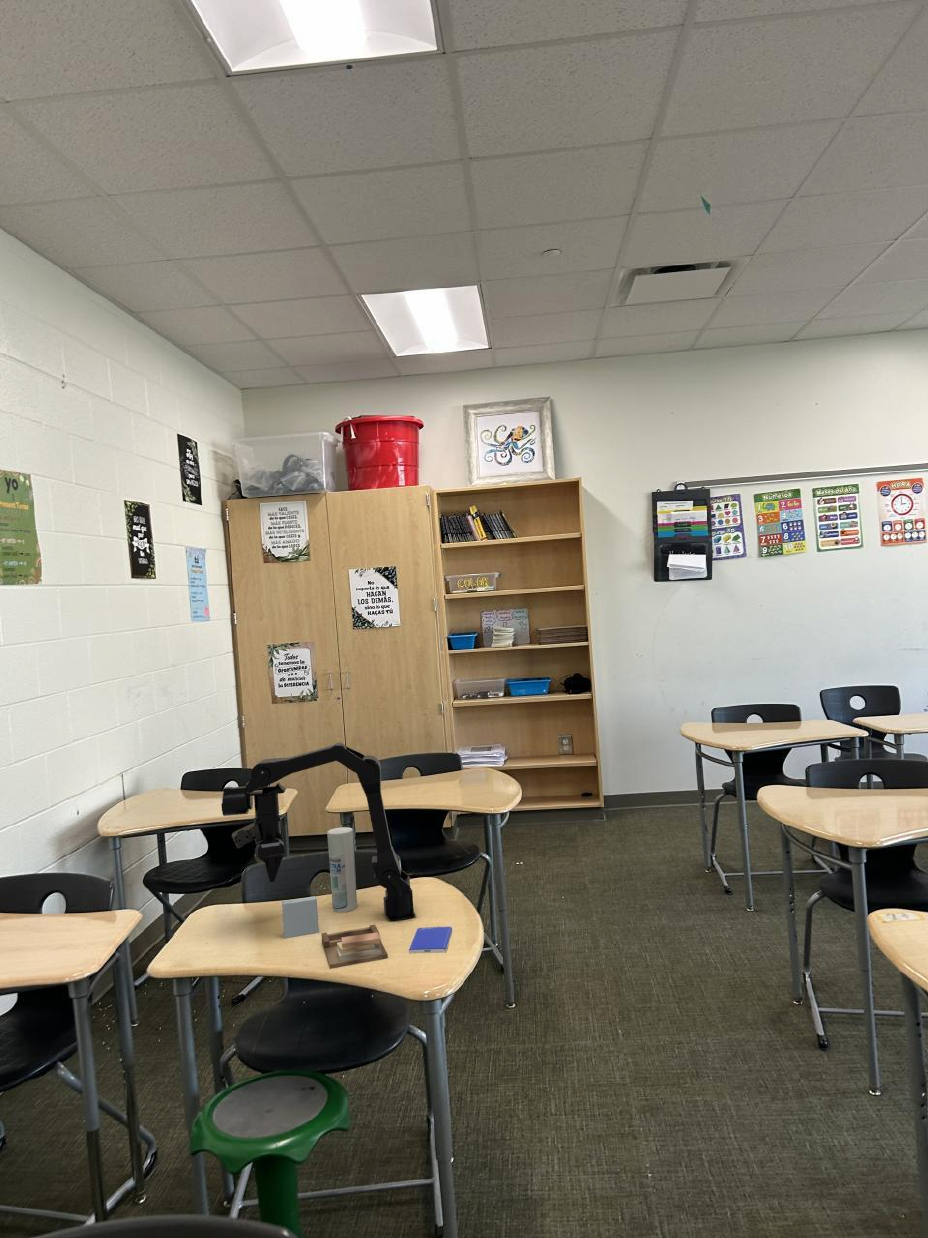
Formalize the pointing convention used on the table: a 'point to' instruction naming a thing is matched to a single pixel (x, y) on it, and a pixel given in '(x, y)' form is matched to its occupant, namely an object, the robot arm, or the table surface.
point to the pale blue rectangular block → (300, 917)
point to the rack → (332, 939)
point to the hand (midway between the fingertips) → (271, 876)
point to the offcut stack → (358, 946)
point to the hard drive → (431, 940)
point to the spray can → (342, 869)
